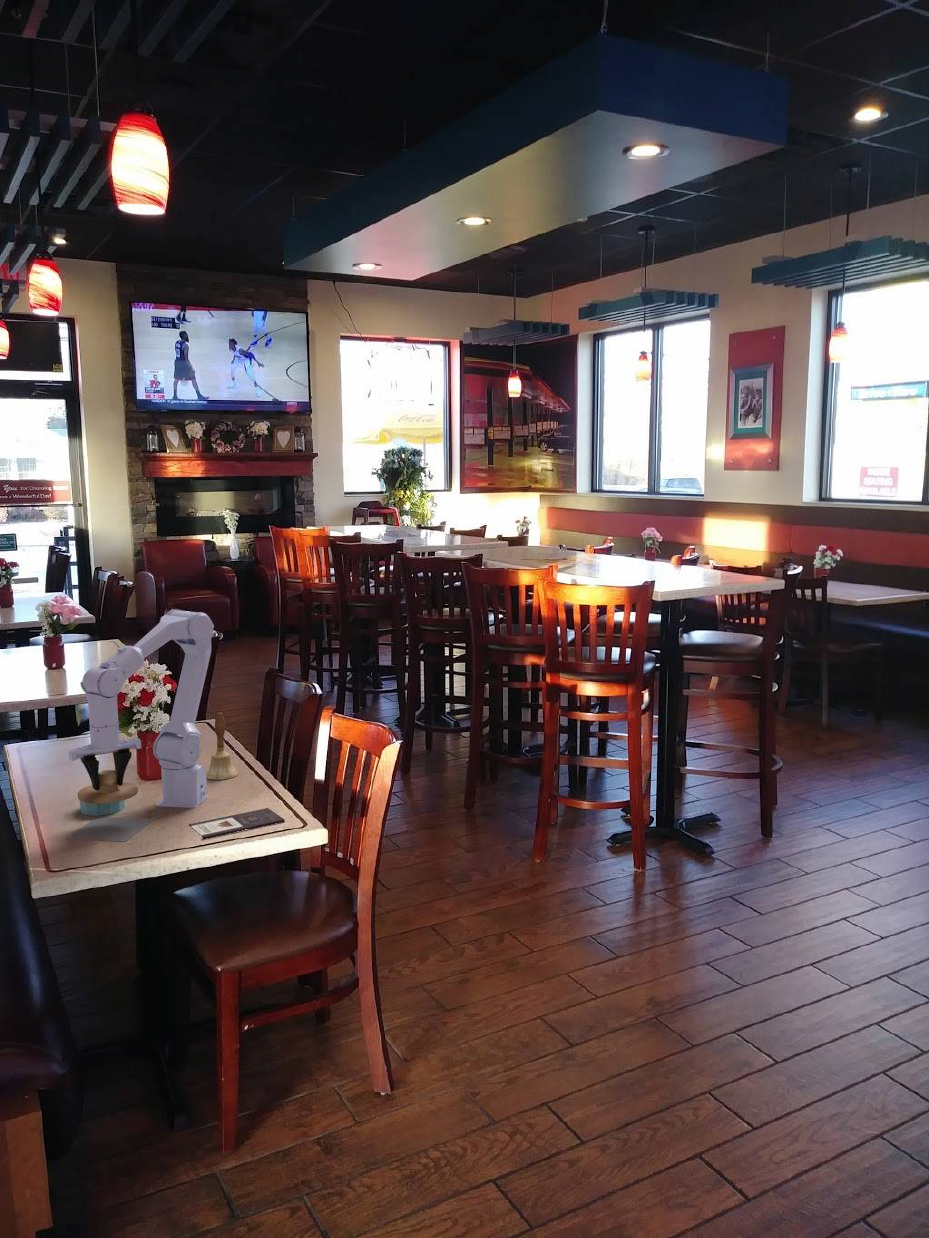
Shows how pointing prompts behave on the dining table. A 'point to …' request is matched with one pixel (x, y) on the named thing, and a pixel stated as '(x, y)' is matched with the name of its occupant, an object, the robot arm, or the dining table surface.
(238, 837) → the dining table surface
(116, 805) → the bowl
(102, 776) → the lid
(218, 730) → the hand bell
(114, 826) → the mat
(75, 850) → the dining table surface
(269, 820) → the chocolate bar
